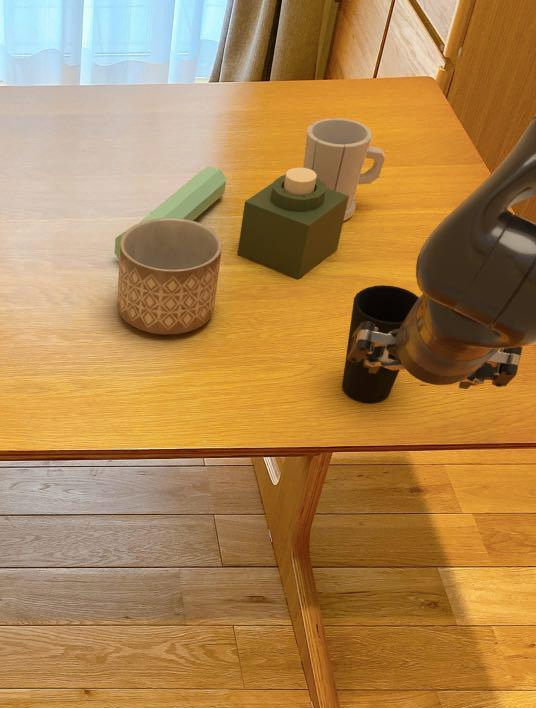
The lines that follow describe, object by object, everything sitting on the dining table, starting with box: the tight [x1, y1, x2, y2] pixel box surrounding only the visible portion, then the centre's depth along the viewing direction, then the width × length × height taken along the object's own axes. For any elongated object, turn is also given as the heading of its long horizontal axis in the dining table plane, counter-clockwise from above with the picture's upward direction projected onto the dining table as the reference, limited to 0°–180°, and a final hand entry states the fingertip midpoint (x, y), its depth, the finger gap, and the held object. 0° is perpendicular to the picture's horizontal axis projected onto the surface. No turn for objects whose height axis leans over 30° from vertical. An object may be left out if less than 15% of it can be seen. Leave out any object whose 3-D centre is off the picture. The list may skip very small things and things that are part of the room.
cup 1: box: [302, 117, 386, 222], centre depth 147 cm, size 10×9×12 cm
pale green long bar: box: [114, 166, 227, 260], centre depth 148 cm, size 6×6×25 cm
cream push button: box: [284, 167, 317, 195], centre depth 136 cm, size 4×4×2 cm
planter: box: [116, 218, 223, 335], centre depth 131 cm, size 13×13×10 cm
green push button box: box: [237, 173, 349, 280], centre depth 140 cm, size 10×10×10 cm
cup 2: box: [341, 284, 420, 404], centre depth 118 cm, size 8×8×12 cm
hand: (418, 370), depth 100 cm, fingers open, 8 cm apart
